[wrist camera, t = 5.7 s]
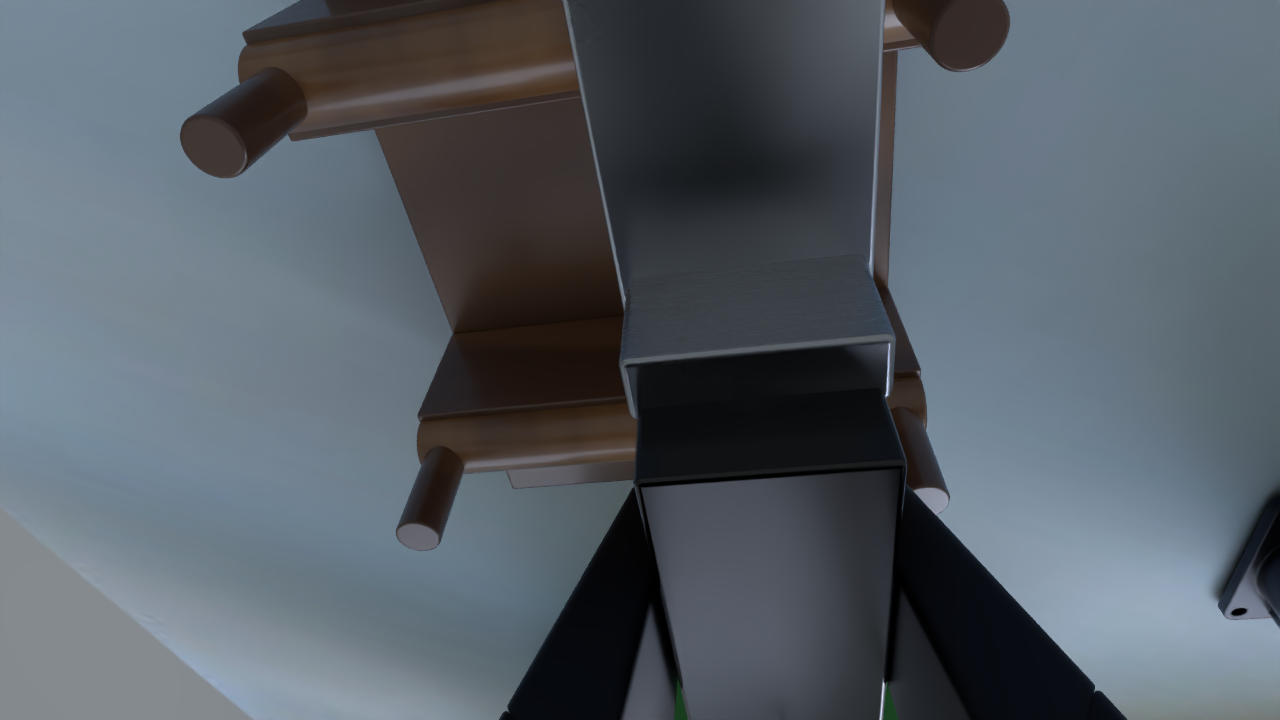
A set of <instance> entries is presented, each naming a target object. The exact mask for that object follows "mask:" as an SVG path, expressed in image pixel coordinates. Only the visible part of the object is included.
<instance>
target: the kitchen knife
mask: <svg viewBox="0 0 1280 720" xmlns="http://www.w3.org/2000/svg"><path fill="white" fill-rule="evenodd" d="M562 4H563V9H564V14H565V19H566V24H567V29H568V34H569V39H570V44H571V49H572V54H573V59H574V64H575V69H576V74H577V79H578V84H579V89H580V94H581V99H582V104H583V109H584V114H585V119H586V124H587V129H588V135H589V140H590V145H591V150H592V155H593V160H594V165H595V170H596V175H597V180H598V185H599V190H600V195H601V200H602V205H603V210H604V215H605V220H606V225H607V230H608V235H609V240H610V245H611V250H612V255H613V260H614V265H615V270H616V275H617V280H618V285H619V290H620V295H621V300H622V305H623V310H624V318H623V328H622V338H621V348H620V357H619V367H620V372H621V377H622V381H623V386H624V390H625V395H626V400H627V404H628V409H629V412H630V414H631V416H632V417H633V418H634V419H638V420H637V435H636V451H635V466H634V482H633V483H634V487H635V492H636V496H637V501H638V505H639V509H640V514H641V518H642V522H643V527H644V531H645V536H646V540H647V544H648V549H649V553H650V557H651V562H652V566H653V571H654V575H655V579H656V584H657V588H658V592H659V597H660V601H661V605H662V610H663V614H664V619H665V623H666V627H667V632H668V636H669V640H670V645H671V649H672V654H673V658H674V662H675V667H676V671H677V675H678V680H679V684H680V689H681V693H682V697H683V702H684V706H685V710H686V715H687V719H688V720H883V717H884V706H885V696H886V685H887V674H888V664H889V653H890V642H891V631H892V621H893V610H894V599H895V589H896V578H897V567H898V557H899V546H900V535H901V524H902V514H903V503H904V492H905V482H906V471H907V460H906V457H905V454H904V451H903V448H902V445H901V442H900V439H899V436H898V433H897V430H896V427H895V424H894V421H893V418H892V415H891V412H890V409H889V406H888V403H887V400H886V398H887V397H889V396H890V394H891V392H892V387H893V373H894V359H895V344H896V336H895V334H894V331H893V329H892V326H891V324H890V321H889V319H888V316H887V313H886V311H885V308H884V306H883V303H882V301H881V298H880V295H879V293H878V290H877V288H876V285H875V283H874V280H873V269H874V247H875V224H876V202H877V179H878V157H879V134H880V112H881V89H882V67H883V44H884V22H885V0H562Z"/></svg>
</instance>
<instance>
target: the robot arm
mask: <svg viewBox="0 0 1280 720" xmlns="http://www.w3.org/2000/svg"><path fill="white" fill-rule="evenodd" d="M1218 607H1219V609H1220V610H1221V612H1222V613H1223V615H1224V616H1225V618H1227V619H1232V620H1238V619H1261V618H1273V620H1274V621H1275V622H1276V624H1277V625H1278V627H1279V628H1280V496H1279V497H1276V498H1275V499H1273V500H1272V501H1271V502H1270V503H1269V504H1268V506H1267V508H1266V510H1265V512H1264V514H1263V516H1262V518H1261V520H1260V522H1259V524H1258V526H1257V528H1256V530H1255V532H1254V534H1253V536H1252V538H1251V539H1250V541H1249V543H1248V545H1247V547H1246V549H1245V551H1244V553H1243V555H1242V557H1241V559H1240V561H1239V563H1238V565H1237V567H1236V569H1235V571H1234V573H1233V575H1232V577H1231V579H1230V581H1229V583H1228V585H1227V587H1226V589H1225V591H1224V593H1223V595H1222V597H1221V599H1220V601H1219V603H1218ZM677 681H678V675H677V671H676V667H675V662H674V658H673V654H672V649H671V645H670V640H669V636H668V632H667V627H666V623H665V619H664V614H663V610H662V605H661V601H660V597H659V592H658V588H657V584H656V579H655V575H654V571H653V566H652V562H651V557H650V553H649V549H648V544H647V540H646V536H645V531H644V527H643V522H642V518H641V514H640V509H639V505H638V501H637V496H636V492H635V487H633V489H632V490H631V492H630V494H629V495H628V497H627V499H626V501H625V502H624V504H623V506H622V508H621V509H620V511H619V513H618V514H617V516H616V518H615V520H614V521H613V523H612V525H611V527H610V528H609V530H608V532H607V534H606V535H605V537H604V539H603V541H602V542H601V544H600V546H599V547H598V549H597V551H596V553H595V554H594V556H593V558H592V560H591V561H590V563H589V565H588V567H587V568H586V570H585V572H584V573H583V575H582V577H581V579H580V580H579V582H578V584H577V586H576V587H575V589H574V591H573V593H572V594H571V596H570V598H569V600H568V601H567V603H566V605H565V606H564V608H563V610H562V612H561V613H560V615H559V617H558V619H557V620H556V622H555V624H554V626H553V627H552V629H551V631H550V633H549V634H548V636H547V638H546V639H545V641H544V643H543V645H542V646H541V648H540V650H539V652H538V653H537V655H536V657H535V659H534V660H533V662H532V664H531V665H530V667H529V669H528V671H527V672H526V674H525V676H524V678H523V679H522V681H521V683H520V685H519V686H518V688H517V690H516V692H515V693H514V695H513V697H512V698H511V700H510V702H509V704H508V706H507V708H508V711H509V712H508V711H505V712H503V713H502V715H501V717H500V719H499V720H674V717H675V705H676V693H677ZM887 683H888V687H889V690H890V693H891V697H892V700H893V703H894V707H895V710H896V713H897V717H898V720H1127V719H1126V717H1125V716H1124V715H1123V714H1122V713H1121V712H1120V711H1119V710H1118V709H1117V708H1116V707H1115V706H1114V705H1113V703H1112V702H1111V701H1110V700H1109V699H1108V698H1107V697H1106V696H1105V695H1104V694H1103V693H1102V692H1101V691H1095V692H1094V690H1095V685H1094V684H1093V682H1092V681H1091V680H1090V679H1089V678H1088V677H1087V676H1086V675H1085V674H1084V673H1083V672H1082V671H1081V670H1080V669H1079V667H1078V666H1077V665H1076V664H1075V663H1074V662H1073V661H1072V660H1071V659H1070V658H1069V657H1068V656H1067V655H1066V654H1065V653H1064V651H1063V650H1062V649H1061V648H1060V647H1059V646H1058V645H1057V644H1056V643H1055V642H1054V641H1053V640H1052V639H1051V638H1050V636H1049V635H1048V634H1047V633H1046V632H1045V631H1044V630H1043V629H1042V628H1041V627H1040V626H1039V625H1038V624H1037V623H1036V622H1035V620H1034V619H1033V618H1032V617H1031V616H1030V615H1029V614H1028V613H1027V612H1026V611H1025V610H1024V609H1023V608H1022V607H1021V606H1020V604H1019V603H1018V602H1017V601H1016V600H1015V599H1014V598H1013V597H1012V596H1011V595H1010V594H1009V593H1008V592H1007V591H1006V589H1005V588H1004V587H1003V586H1002V585H1001V584H1000V583H999V582H998V581H997V580H996V579H995V578H994V577H993V576H992V575H991V573H990V572H989V571H988V570H987V569H986V568H985V567H984V566H983V565H982V564H981V563H980V562H979V561H978V560H977V559H976V557H975V556H974V555H973V554H972V553H971V552H970V551H969V550H968V549H967V548H966V547H965V546H964V545H963V544H962V542H961V541H960V540H959V539H958V538H957V537H956V536H955V535H954V534H953V533H952V532H951V531H950V530H949V529H948V528H947V526H946V525H945V524H944V523H943V522H942V521H941V520H940V519H939V518H938V517H937V516H936V515H935V514H934V513H933V512H932V510H931V509H930V508H929V507H928V506H927V505H926V504H925V503H924V502H923V501H922V500H921V499H920V498H919V497H918V495H917V494H916V493H915V492H914V491H913V490H912V489H911V488H910V487H909V486H908V485H907V484H906V483H905V492H904V503H903V514H902V524H901V535H900V546H899V557H898V567H897V578H896V589H895V599H894V610H893V621H892V631H891V642H890V653H889V664H888V674H887Z"/></svg>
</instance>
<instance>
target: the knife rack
mask: <svg viewBox="0 0 1280 720" xmlns="http://www.w3.org/2000/svg"><path fill="white" fill-rule="evenodd" d="M1009 27H1010V16H1009V11H1008V8H1007V6H1006V4H1005V3H1004V1H1003V0H885V22H884V44H883V67H882V89H881V112H880V134H879V157H878V179H877V202H876V224H875V247H874V269H873V280H874V283H875V285H876V288H877V290H878V293H879V295H880V298H881V301H882V303H883V306H884V308H885V311H886V313H887V316H888V319H889V321H890V324H891V326H892V329H893V331H894V334H895V336H896V344H895V359H894V373H893V387H892V392H891V394H890V396H889V397H887V398H886V400H887V403H888V406H889V409H890V412H891V415H892V418H893V421H894V424H895V427H896V430H897V433H898V436H899V439H900V442H901V445H902V448H903V451H904V454H905V457H906V460H907V471H906V482H905V483H906V484H907V485H908V486H909V487H910V488H911V489H912V490H913V491H914V492H915V493H916V494H917V495H918V497H919V498H920V499H921V500H922V501H923V502H924V503H925V504H926V505H927V506H928V507H929V508H930V509H931V510H932V512H933V513H934V514H935V515H937V514H939V513H940V512H942V511H943V510H944V509H945V508H946V507H947V506H948V504H949V500H950V495H949V492H948V489H947V487H946V484H945V481H944V479H943V476H942V473H941V470H940V468H939V465H938V462H937V460H936V457H935V454H934V452H933V449H932V446H931V443H930V441H929V438H928V435H927V433H926V426H927V405H926V397H925V392H924V387H923V384H922V381H921V378H920V375H921V368H920V366H919V363H918V361H917V358H916V356H915V353H914V351H913V348H912V346H911V343H910V341H909V338H908V336H907V333H906V331H905V328H904V326H903V323H902V321H901V318H900V316H899V313H898V311H897V308H896V306H895V303H894V301H893V298H892V296H891V293H890V291H889V289H888V269H889V245H890V222H891V198H892V175H893V152H894V128H895V105H896V81H897V58H898V50H904V49H910V48H917V47H923V48H924V49H925V50H926V51H927V53H928V54H929V55H930V56H931V57H932V58H933V59H934V60H935V61H936V62H937V63H938V65H940V66H941V67H942V68H944V69H946V70H949V71H953V72H966V71H971V70H974V69H977V68H979V67H981V66H983V65H984V64H986V63H987V62H989V61H990V60H991V59H992V58H993V57H994V56H995V55H996V54H997V53H998V52H999V51H1000V49H1001V48H1002V46H1003V44H1004V43H1005V40H1006V38H1007V35H1008V32H1009ZM242 34H243V37H244V39H245V41H246V43H247V45H246V46H245V47H244V48H243V49H242V51H241V53H240V56H239V61H238V76H239V82H240V84H239V85H238V86H236V87H235V88H233V89H231V90H230V91H228V92H227V93H225V94H224V95H222V96H221V97H219V98H218V99H216V100H215V101H213V102H212V103H210V104H209V105H207V106H206V107H204V108H203V109H201V110H200V111H198V112H197V113H195V114H194V115H192V116H190V117H189V118H188V119H186V120H185V122H184V123H183V125H182V128H181V132H180V140H181V145H182V147H183V150H184V152H185V154H186V155H187V157H188V158H189V159H190V161H191V162H192V163H193V164H194V165H195V166H197V167H198V168H199V169H200V170H202V171H203V172H205V173H207V174H209V175H212V176H215V177H219V178H233V177H237V176H239V175H241V174H242V173H243V172H244V171H246V170H247V169H248V168H249V167H250V166H251V165H253V164H254V163H255V162H256V161H257V160H258V159H259V158H261V157H262V156H263V155H264V154H265V153H266V152H268V151H269V150H270V149H271V148H272V147H273V146H275V145H276V144H277V143H278V142H279V141H280V140H282V139H283V138H284V137H285V136H286V135H287V134H288V135H289V137H290V140H291V141H299V140H306V139H312V138H319V137H326V136H332V135H339V134H346V133H352V132H359V131H366V130H372V129H375V132H376V135H377V137H378V140H379V142H380V145H381V148H382V150H383V153H384V155H385V158H386V160H387V163H388V166H389V168H390V171H391V173H392V176H393V179H394V181H395V184H396V186H397V189H398V192H399V194H400V197H401V199H402V202H403V205H404V207H405V210H406V212H407V215H408V218H409V220H410V223H411V225H412V228H413V231H414V233H415V236H416V238H417V241H418V244H419V246H420V249H421V251H422V254H423V257H424V259H425V262H426V264H427V267H428V270H429V272H430V275H431V277H432V280H433V282H434V285H435V288H436V290H437V293H438V295H439V298H440V301H441V303H442V306H443V308H444V311H445V314H446V316H447V319H448V321H449V324H450V327H451V329H452V332H453V335H452V336H451V339H450V341H449V343H448V346H447V348H446V350H445V353H444V355H443V357H442V360H441V362H440V364H439V366H438V369H437V371H436V373H435V376H434V378H433V380H432V383H431V385H430V387H429V390H428V392H427V394H426V397H425V399H424V401H423V403H422V406H421V408H420V410H419V413H418V419H419V421H420V424H419V428H418V433H417V451H418V457H419V461H420V464H421V468H420V470H419V473H418V475H417V478H416V480H415V483H414V485H413V488H412V490H411V493H410V495H409V498H408V501H407V503H406V506H405V508H404V511H403V513H402V516H401V518H400V521H399V523H398V526H397V528H396V536H397V538H398V540H399V541H400V542H401V543H402V544H403V545H405V546H406V547H408V548H411V549H414V550H419V551H428V550H432V549H434V548H436V547H437V546H438V545H439V544H440V542H441V539H442V536H443V533H444V530H445V527H446V524H447V521H448V517H449V514H450V511H451V508H452V505H453V502H454V499H455V496H456V493H457V490H458V487H459V484H460V481H461V478H462V475H463V474H471V473H483V472H496V471H506V472H507V475H508V477H509V480H510V482H511V485H512V488H514V489H518V488H531V487H544V486H558V485H571V484H584V483H597V482H610V481H623V480H634V466H635V451H636V435H637V420H638V419H634V418H633V417H632V416H631V414H630V412H629V409H628V404H627V400H626V395H625V390H624V386H623V381H622V377H621V372H620V367H619V357H620V348H621V338H622V328H623V318H624V310H623V305H622V300H621V295H620V290H619V285H618V280H617V275H616V270H615V265H614V260H613V255H612V250H611V245H610V240H609V235H608V230H607V225H606V220H605V215H604V210H603V205H602V200H601V195H600V190H599V185H598V180H597V175H596V170H595V165H594V160H593V155H592V150H591V145H590V140H589V135H588V129H587V124H586V119H585V114H584V109H583V104H582V99H581V94H580V89H579V84H578V79H577V74H576V69H575V64H574V59H573V54H572V49H571V44H570V39H569V34H568V29H567V24H566V19H565V14H564V9H563V4H562V0H300V1H299V2H297V3H295V4H293V5H291V6H289V7H288V8H286V9H284V10H282V11H280V12H278V13H277V14H275V15H273V16H271V17H269V18H267V19H266V20H264V21H262V22H260V23H258V24H256V25H255V26H253V27H251V28H249V29H247V30H245V31H244V32H243V33H242Z"/></svg>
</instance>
